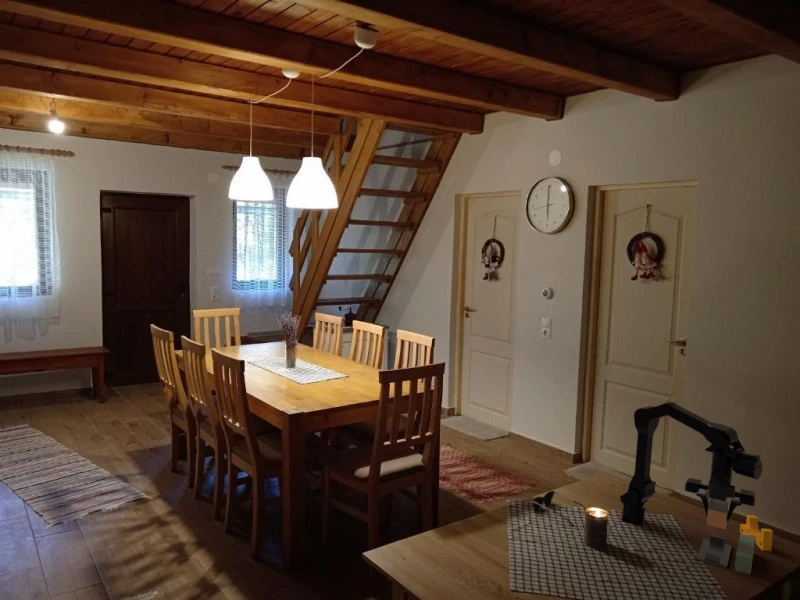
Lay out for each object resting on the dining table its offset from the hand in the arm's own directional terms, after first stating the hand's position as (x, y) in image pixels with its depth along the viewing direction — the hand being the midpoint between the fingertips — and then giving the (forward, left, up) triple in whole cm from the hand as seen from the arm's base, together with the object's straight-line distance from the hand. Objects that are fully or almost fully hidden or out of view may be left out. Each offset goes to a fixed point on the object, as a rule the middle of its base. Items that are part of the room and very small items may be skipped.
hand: (717, 518), depth 188 cm
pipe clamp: (+10, +18, -11) cm, 23 cm away
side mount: (0, 0, -11) cm, 11 cm away
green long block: (+8, 0, -11) cm, 14 cm away
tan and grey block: (0, 0, -1) cm, 1 cm away
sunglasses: (-47, -2, -12) cm, 49 cm away
